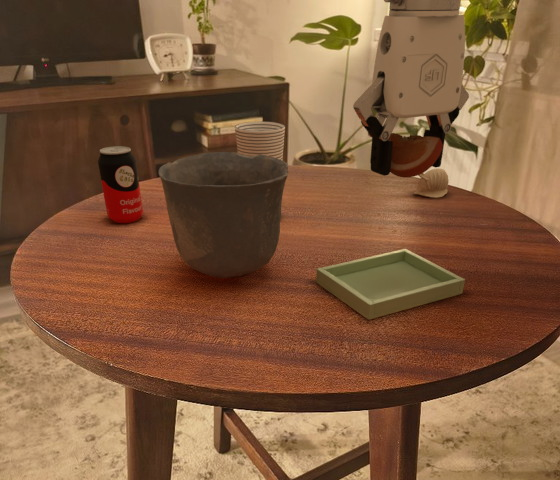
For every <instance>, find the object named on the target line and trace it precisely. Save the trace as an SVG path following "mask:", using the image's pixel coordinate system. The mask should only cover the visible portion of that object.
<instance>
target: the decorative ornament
mask: <svg viewBox="0 0 560 480" xmlns="http://www.w3.org/2000/svg"><path fill="white" fill-rule="evenodd" d="M417 177H419V178H420V179H419V181H418V184H417V188H416V190H415V191H414V192H413V194H412V195H419V196H423V197H427V198H432V199H439V198H444V197H445V195H447V193H448V192H449V191H448V187H449V174H448V173H447V171H446V170H445V169H443V168H440V167H437V168H432V169H429V170H427V171H425V172H424V173H422V174H420V175H417Z"/></svg>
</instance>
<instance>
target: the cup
mask: <svg viewBox="0 0 560 480" xmlns="http://www.w3.org/2000/svg"><path fill="white" fill-rule="evenodd" d="M234 131H235V132H234V134H235V140H236V152H238V153H240V154H241V155H246V156H256V155H259V154H261V155H267V156H270V157H275V158H278V159H280V160H282V161H284V160H283V159H284V148H285V147H284V146H285V133H286V126H285V125H284V124H283V123H280V122H275V121H263V120H262V121H248V122H247V121H246V122H245V121H244V122H241V123H238V124H236V125H234Z"/></svg>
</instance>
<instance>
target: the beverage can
mask: <svg viewBox="0 0 560 480" xmlns="http://www.w3.org/2000/svg"><path fill="white" fill-rule="evenodd" d="M131 150H132V149H131V148H130V147H128V146H122V145H117V146H114V145H113V146H107V147H103V148H101V149H99V156H98V160H97V164H98V169H99V176H100V177H99V178H100V181H101V188H102V193H103V197H104V198H103V200H104V204H105V210H106V215H107V217H108V218H109V219H110V220H112V221H113V222H114V223H117V224H131V223H135V222H137V221H139V220H140V218H141V217H142V216H143V214H144V209H143V202H142V194H141V187H140V180H139V174H138V166H137V160H136V157H135V156H134V154H133V153H132V151H131Z"/></svg>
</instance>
